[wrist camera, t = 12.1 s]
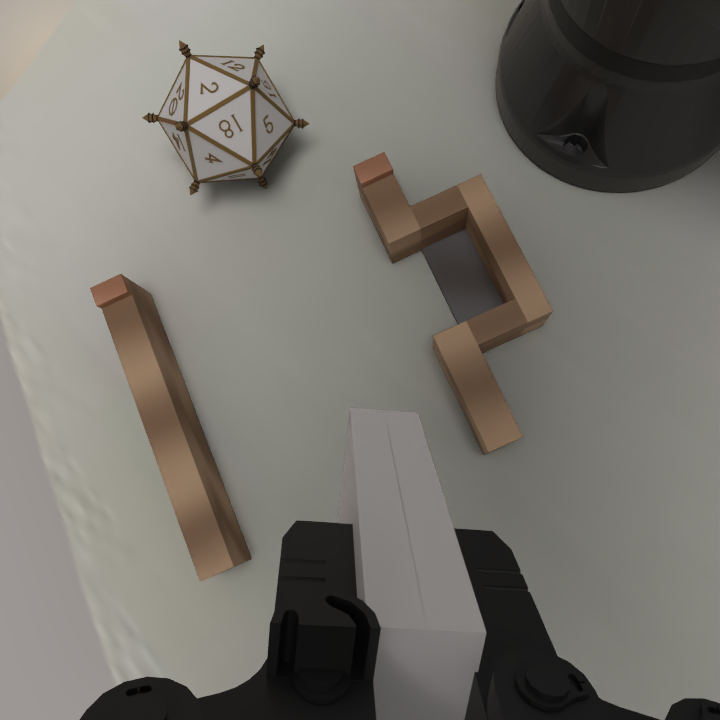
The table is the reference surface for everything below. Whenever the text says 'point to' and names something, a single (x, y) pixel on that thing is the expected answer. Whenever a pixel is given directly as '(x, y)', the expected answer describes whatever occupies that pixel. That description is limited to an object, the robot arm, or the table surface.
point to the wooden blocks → (452, 347)
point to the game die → (225, 118)
